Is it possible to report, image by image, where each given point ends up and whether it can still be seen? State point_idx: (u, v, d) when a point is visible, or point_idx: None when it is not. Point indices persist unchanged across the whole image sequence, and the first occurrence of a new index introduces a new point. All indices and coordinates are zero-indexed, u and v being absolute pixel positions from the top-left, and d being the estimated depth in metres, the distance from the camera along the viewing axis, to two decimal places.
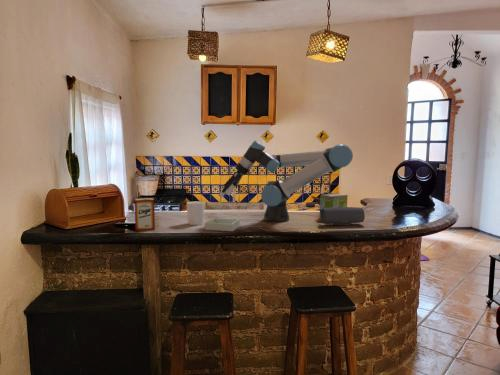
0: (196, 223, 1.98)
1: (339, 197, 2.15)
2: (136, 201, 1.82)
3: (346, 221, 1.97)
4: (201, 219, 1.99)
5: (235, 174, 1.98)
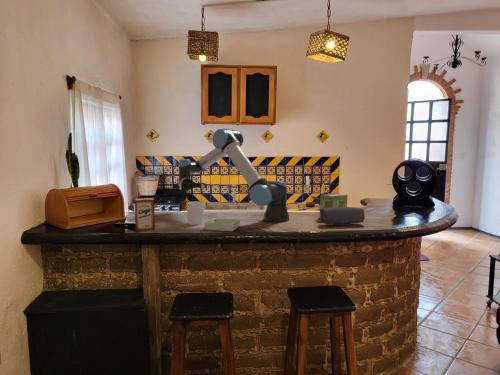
0: (196, 223, 1.98)
1: (339, 197, 2.15)
2: (136, 201, 1.82)
3: (346, 221, 1.97)
4: (201, 219, 1.99)
5: None
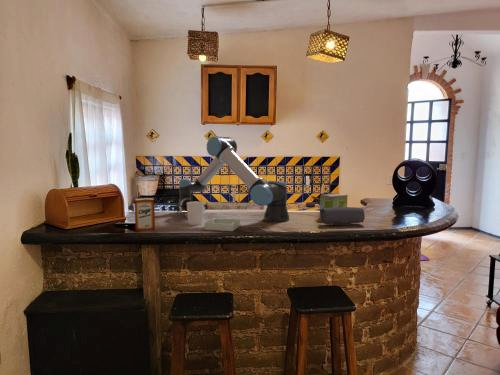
0: (196, 223, 1.98)
1: (339, 197, 2.15)
2: (136, 201, 1.82)
3: (346, 221, 1.97)
4: (201, 219, 1.99)
5: None
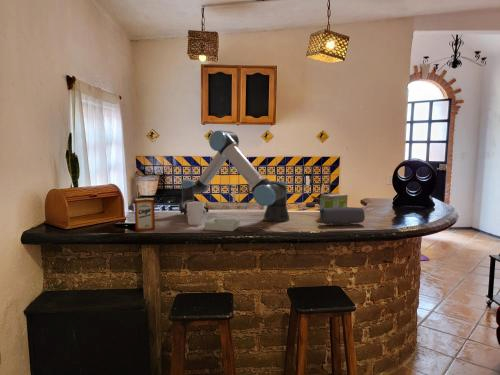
0: (196, 223, 1.98)
1: (339, 197, 2.15)
2: (136, 201, 1.82)
3: (346, 221, 1.97)
4: (201, 219, 1.99)
5: None
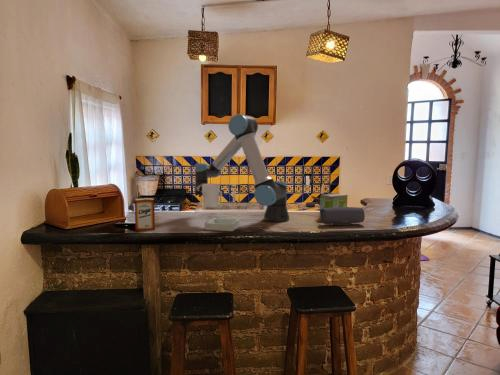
0: (212, 205, 1.91)
1: (339, 197, 2.15)
2: (136, 201, 1.82)
3: (346, 221, 1.97)
4: (217, 201, 1.92)
5: (195, 191, 2.03)
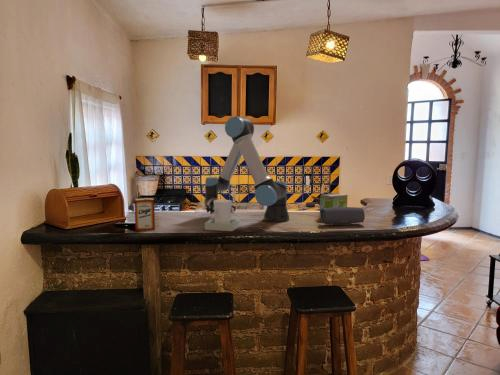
0: (224, 222, 1.88)
1: (339, 197, 2.15)
2: (136, 201, 1.82)
3: (346, 221, 1.97)
4: (229, 218, 1.89)
5: (206, 207, 2.00)
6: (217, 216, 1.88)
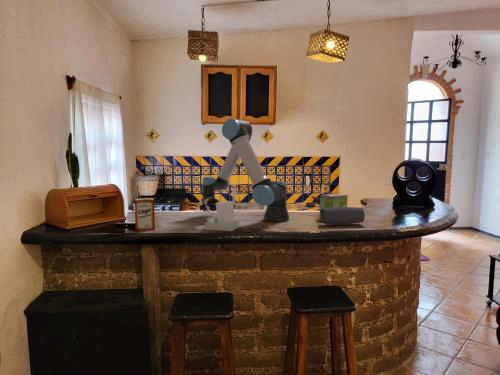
0: (228, 223, 1.90)
1: (339, 197, 2.15)
2: (136, 201, 1.82)
3: (346, 221, 1.97)
4: (232, 219, 1.91)
5: None
6: (221, 218, 1.90)
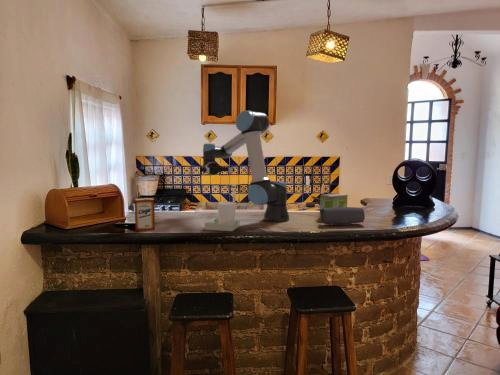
0: None
1: (339, 197, 2.15)
2: (136, 201, 1.82)
3: (346, 221, 1.97)
4: (233, 220, 1.91)
5: None
6: (222, 218, 1.89)
